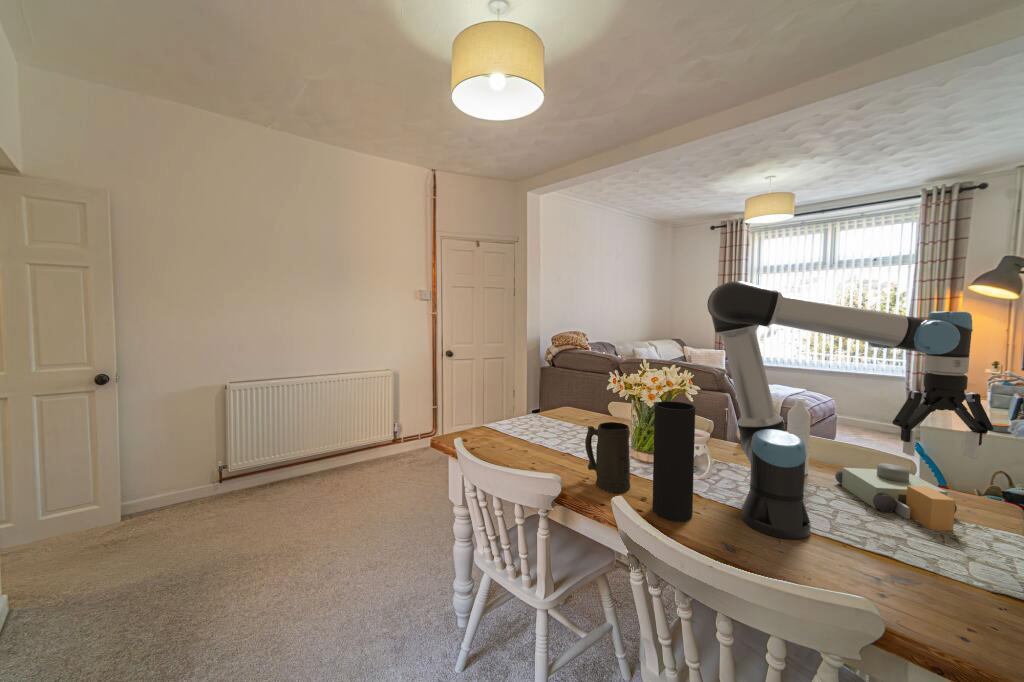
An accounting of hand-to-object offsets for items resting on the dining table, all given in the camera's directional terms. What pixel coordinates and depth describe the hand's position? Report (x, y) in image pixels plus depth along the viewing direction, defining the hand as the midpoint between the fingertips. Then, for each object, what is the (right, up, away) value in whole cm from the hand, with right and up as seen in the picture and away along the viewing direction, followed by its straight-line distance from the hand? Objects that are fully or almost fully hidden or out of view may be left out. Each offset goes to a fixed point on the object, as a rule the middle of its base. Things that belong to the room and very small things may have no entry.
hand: (939, 455), depth 104 cm
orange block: (+1, -18, +3) cm, 19 cm away
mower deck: (+3, -17, +15) cm, 23 cm away
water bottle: (-10, -16, +38) cm, 42 cm away
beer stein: (-78, -17, +27) cm, 85 cm away
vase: (-64, -18, +9) cm, 68 cm away
